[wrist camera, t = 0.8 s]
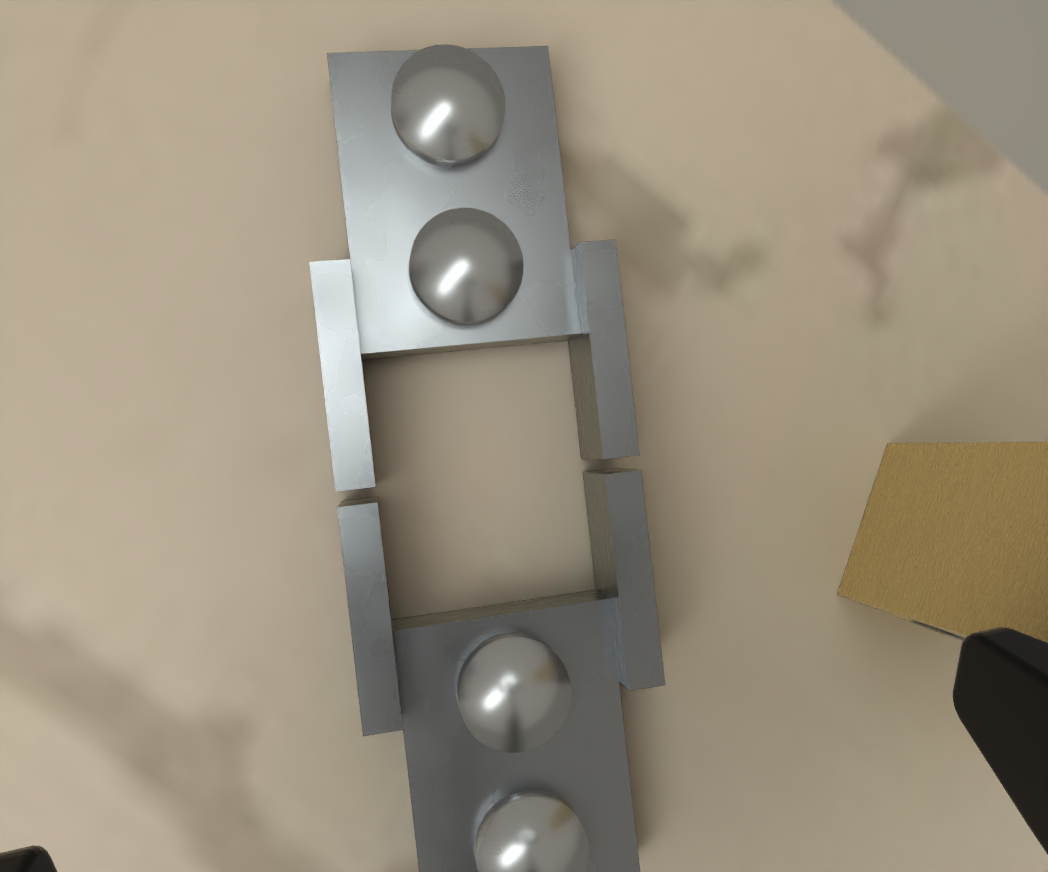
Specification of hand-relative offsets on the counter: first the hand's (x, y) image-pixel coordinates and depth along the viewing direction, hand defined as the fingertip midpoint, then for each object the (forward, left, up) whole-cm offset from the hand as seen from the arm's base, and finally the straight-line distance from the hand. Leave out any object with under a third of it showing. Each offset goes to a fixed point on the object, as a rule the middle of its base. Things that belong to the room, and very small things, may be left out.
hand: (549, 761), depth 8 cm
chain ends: (+2, -1, -16) cm, 16 cm away
